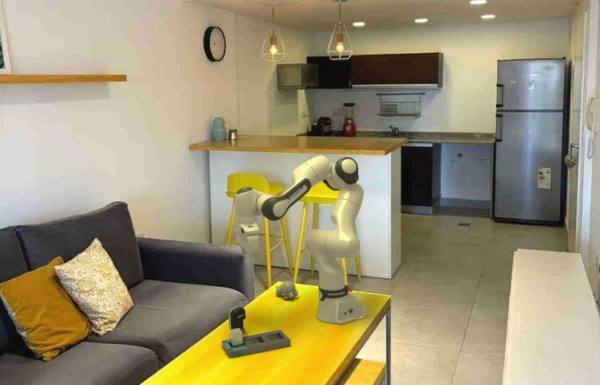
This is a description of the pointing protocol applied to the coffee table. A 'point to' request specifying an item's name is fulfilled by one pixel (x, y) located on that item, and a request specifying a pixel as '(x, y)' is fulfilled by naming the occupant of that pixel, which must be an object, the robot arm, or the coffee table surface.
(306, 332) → the coffee table surface
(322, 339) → the coffee table surface
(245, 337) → the grey slotted board
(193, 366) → the coffee table surface
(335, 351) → the coffee table surface
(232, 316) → the battery charger
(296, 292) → the toy rhinoceros
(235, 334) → the steel block
